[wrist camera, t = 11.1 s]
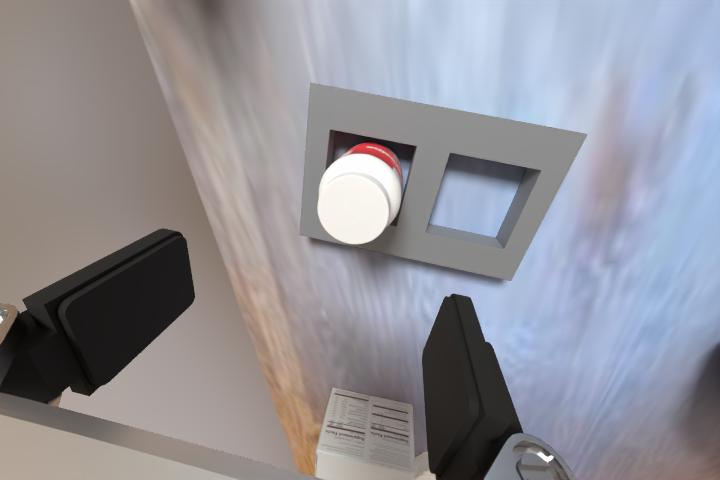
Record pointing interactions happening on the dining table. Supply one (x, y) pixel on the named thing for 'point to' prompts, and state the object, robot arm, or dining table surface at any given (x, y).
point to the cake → (423, 468)
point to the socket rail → (439, 174)
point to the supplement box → (365, 439)
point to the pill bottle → (360, 193)
